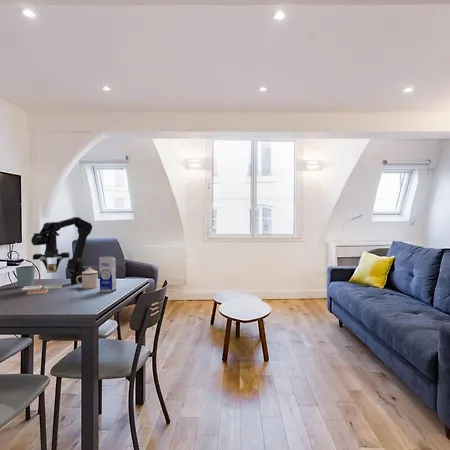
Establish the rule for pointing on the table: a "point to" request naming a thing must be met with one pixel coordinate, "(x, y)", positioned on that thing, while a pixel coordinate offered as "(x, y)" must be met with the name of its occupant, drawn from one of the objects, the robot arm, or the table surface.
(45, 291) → the dish
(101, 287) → the milk carton
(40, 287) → the dish
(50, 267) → the letter cube
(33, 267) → the teal patterned cup
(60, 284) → the dish
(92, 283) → the teacup with lid
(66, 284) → the table surface
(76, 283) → the robot arm
